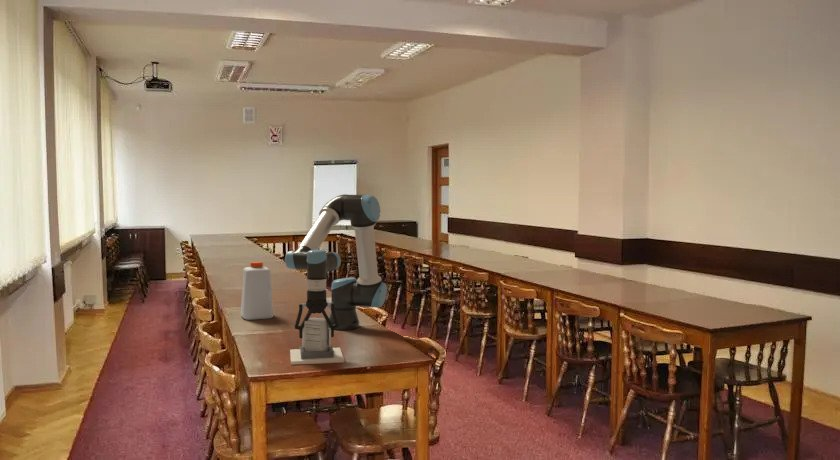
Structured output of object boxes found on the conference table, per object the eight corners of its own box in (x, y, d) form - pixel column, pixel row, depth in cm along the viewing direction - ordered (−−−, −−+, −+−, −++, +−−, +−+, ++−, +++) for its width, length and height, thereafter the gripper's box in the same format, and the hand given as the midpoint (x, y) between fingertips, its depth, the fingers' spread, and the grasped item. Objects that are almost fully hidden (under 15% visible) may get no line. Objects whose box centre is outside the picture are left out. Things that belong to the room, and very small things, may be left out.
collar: (299, 350, 260) (299, 344, 260) (331, 349, 263) (331, 343, 263) (301, 359, 248) (301, 352, 248) (333, 357, 251) (333, 351, 251)
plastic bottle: (244, 321, 320) (243, 264, 318) (239, 315, 334) (239, 261, 332) (274, 318, 326) (274, 263, 324) (269, 313, 340) (268, 260, 338)
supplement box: (312, 348, 260) (312, 317, 259) (329, 349, 258) (329, 318, 257) (303, 352, 253) (303, 320, 252) (321, 354, 251) (321, 322, 250)
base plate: (290, 352, 262) (290, 349, 262) (339, 350, 266) (339, 347, 266) (291, 364, 245) (291, 361, 244) (344, 362, 249) (344, 359, 249)
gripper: (287, 291, 248) (287, 349, 249) (346, 290, 252) (345, 347, 254) (287, 288, 255) (287, 344, 256) (344, 287, 260) (343, 342, 261)
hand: (316, 345), depth 255 cm, fingers closed on supplement box, 10 cm apart
